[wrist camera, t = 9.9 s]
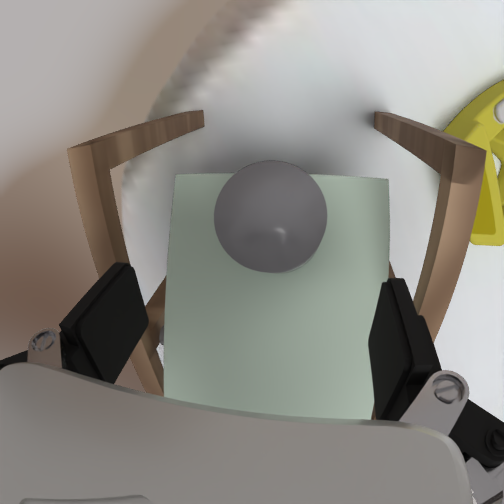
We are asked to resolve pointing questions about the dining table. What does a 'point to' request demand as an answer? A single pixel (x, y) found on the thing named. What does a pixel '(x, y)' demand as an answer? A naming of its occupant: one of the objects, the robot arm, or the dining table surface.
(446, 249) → the frame
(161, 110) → the dining table surface
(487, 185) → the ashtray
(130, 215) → the dining table surface
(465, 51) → the dining table surface
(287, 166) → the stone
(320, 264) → the pale green flat block
